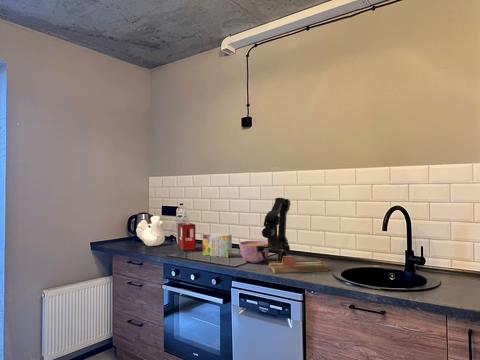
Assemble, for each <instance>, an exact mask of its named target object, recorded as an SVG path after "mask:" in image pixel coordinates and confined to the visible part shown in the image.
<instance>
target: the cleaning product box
mask: <svg viewBox="0 0 480 360" xmlns="http://www.w3.org/2000/svg"><path fill="white" fill-rule="evenodd" d="M196 239H197V237H196V224H195V223H191V222H180V223H179V222H178V223H177V249H178V250H179V249H180V250H182V251H183V252H187V251H196V246H197V245H196V241H197V240H196ZM180 250H179V251H180ZM182 251H181V252H182ZM183 252H182V253H183ZM196 252H197V251H196ZM187 253H188V252H187Z"/></svg>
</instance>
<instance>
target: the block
mask: <svg viewBox="0 0 480 360" xmlns="http://www.w3.org/2000/svg"><path fill="white" fill-rule="evenodd" d="M295 261H296V259H295V257H294V256H293V255H287V256H283V258H282V264H284V265H285V266H286V265H295Z"/></svg>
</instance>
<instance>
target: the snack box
mask: <svg viewBox="0 0 480 360" xmlns="http://www.w3.org/2000/svg"><path fill="white" fill-rule="evenodd" d="M232 237H233V234H229V233H228V234H226V233H223V234H222V233H212V232H211V233H210V232H209V233H207V232H206V233H202V256H206V255H210V256H209V257H216V256H219V258H225V257H226V258H227V259H228V258H233V257H232V254H233V253H232V252H233V251H232V249H233V248H232V245H233V243H232V241H233V240H232V239H233V238H232Z"/></svg>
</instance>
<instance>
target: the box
mask: <svg viewBox="0 0 480 360" xmlns="http://www.w3.org/2000/svg"><path fill="white" fill-rule="evenodd" d="M268 267H269V268H270V270H271V271H272V272H273V273H274V274H285V273H286V274H289V273H291V274H292V273H312V272H329V265H328V264H326V263H324V262H323V261H322V260H320V259H312V260H311V259H309V260H308V259H307V260H295V265H286V266H285V265H284V264H282V261H281V263H280V261H279V262H278V261H268Z"/></svg>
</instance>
